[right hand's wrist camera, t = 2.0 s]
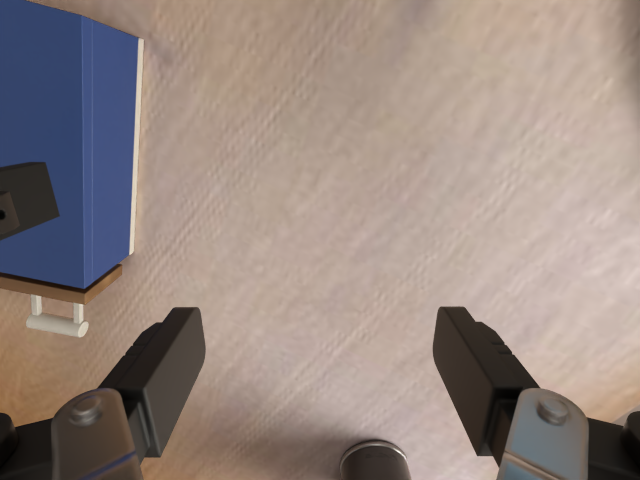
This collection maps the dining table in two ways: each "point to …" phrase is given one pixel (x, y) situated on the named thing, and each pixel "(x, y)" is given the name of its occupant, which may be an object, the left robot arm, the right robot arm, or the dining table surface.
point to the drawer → (58, 292)
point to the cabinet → (71, 137)
